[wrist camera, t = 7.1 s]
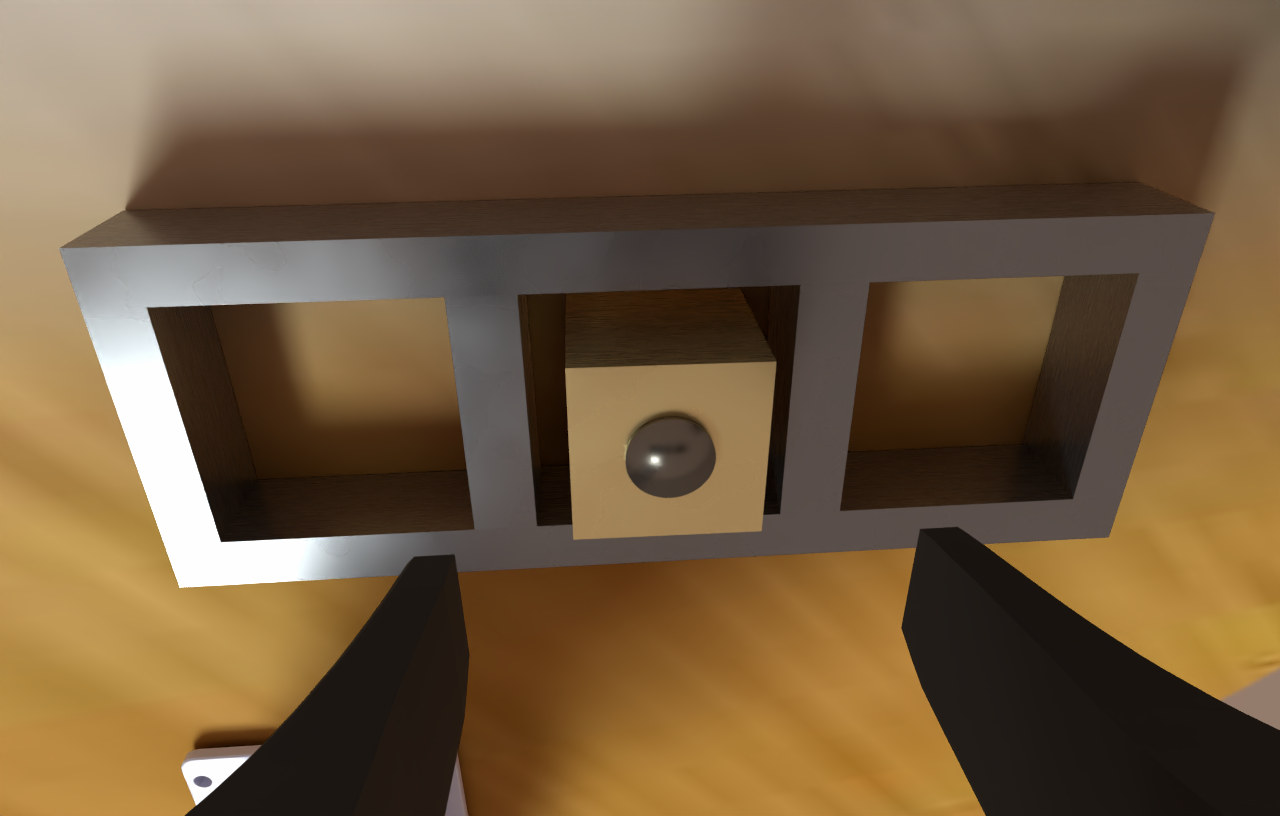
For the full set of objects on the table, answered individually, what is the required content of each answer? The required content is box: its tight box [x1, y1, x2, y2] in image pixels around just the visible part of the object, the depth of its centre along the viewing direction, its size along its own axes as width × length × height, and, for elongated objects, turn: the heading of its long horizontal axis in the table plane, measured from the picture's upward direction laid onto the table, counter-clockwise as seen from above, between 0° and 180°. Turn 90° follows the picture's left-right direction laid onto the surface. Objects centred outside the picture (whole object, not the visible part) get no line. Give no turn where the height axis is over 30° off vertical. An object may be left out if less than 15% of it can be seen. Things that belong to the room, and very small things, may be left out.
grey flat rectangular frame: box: [59, 182, 1215, 587], centre depth 19 cm, size 8×22×2 cm, turn 90°
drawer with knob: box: [565, 288, 776, 540], centre depth 18 cm, size 4×4×4 cm
